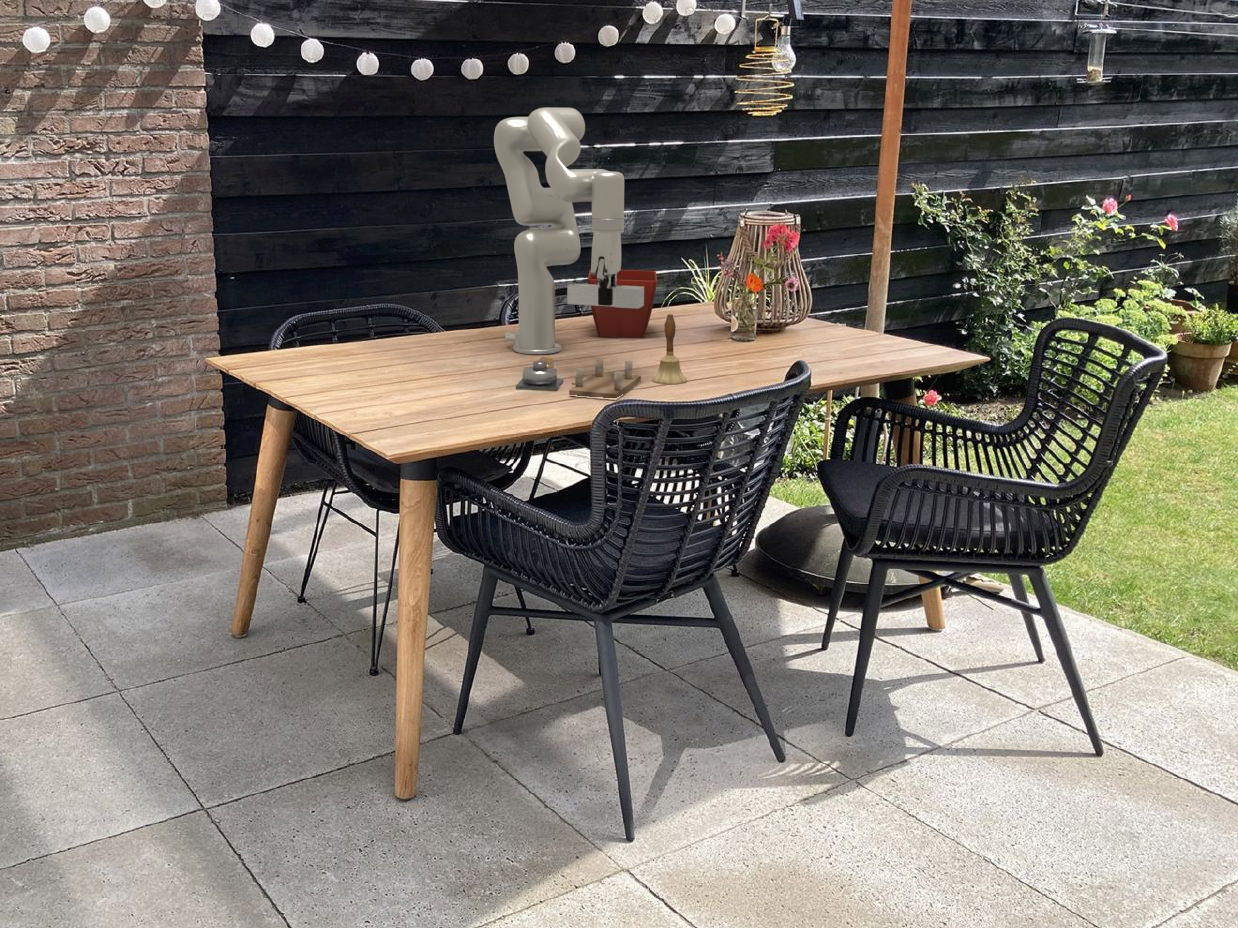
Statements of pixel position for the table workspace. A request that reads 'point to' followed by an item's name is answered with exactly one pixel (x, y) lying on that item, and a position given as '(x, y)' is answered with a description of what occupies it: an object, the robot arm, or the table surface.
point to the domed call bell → (541, 372)
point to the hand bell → (669, 359)
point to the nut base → (540, 385)
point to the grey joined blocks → (620, 295)
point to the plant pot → (626, 319)
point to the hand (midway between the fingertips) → (607, 303)
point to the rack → (605, 382)
